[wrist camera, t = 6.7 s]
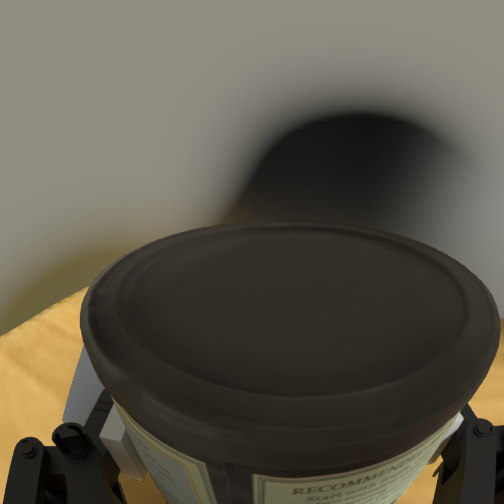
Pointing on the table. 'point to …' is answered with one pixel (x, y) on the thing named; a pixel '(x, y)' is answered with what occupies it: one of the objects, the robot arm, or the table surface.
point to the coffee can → (288, 359)
